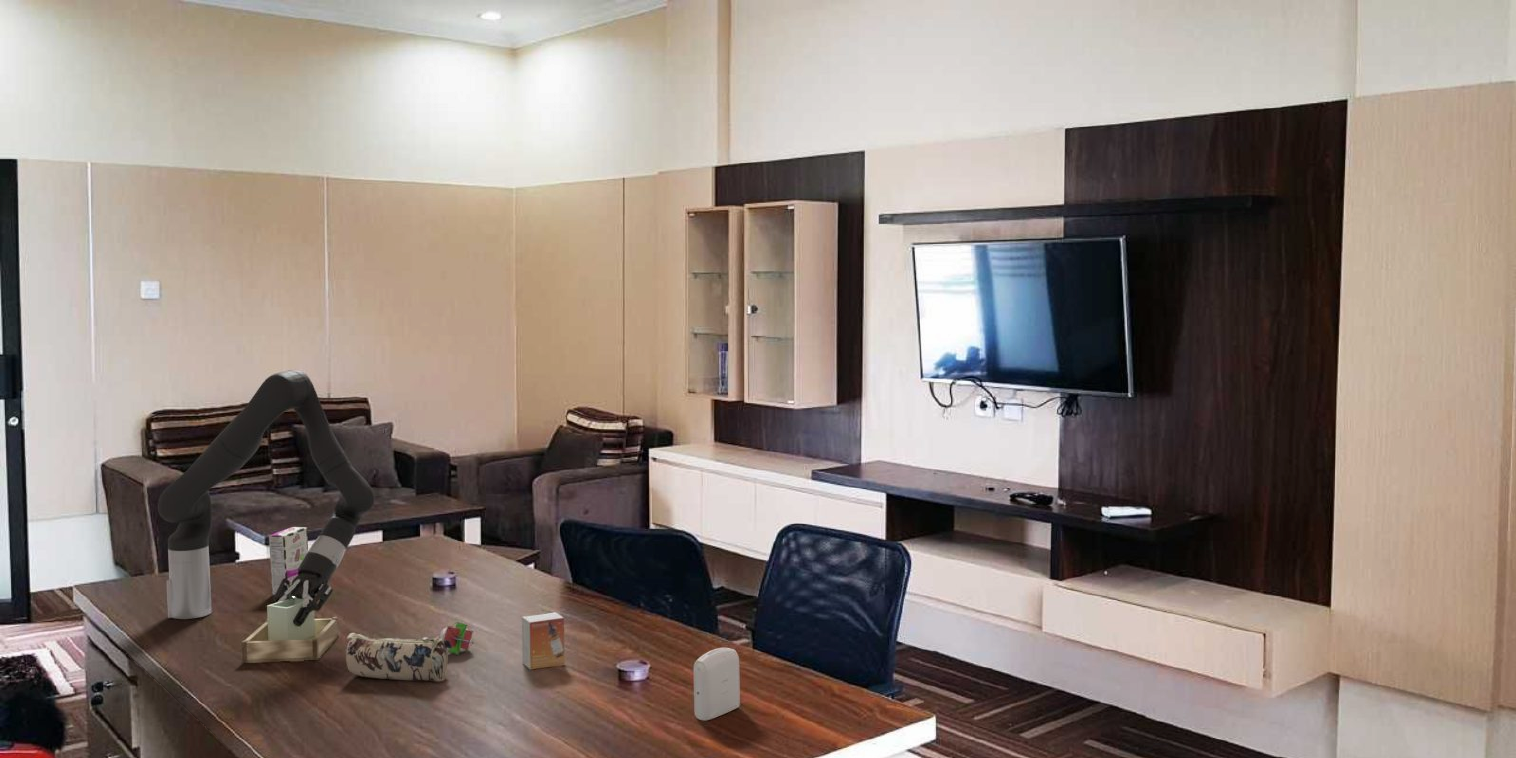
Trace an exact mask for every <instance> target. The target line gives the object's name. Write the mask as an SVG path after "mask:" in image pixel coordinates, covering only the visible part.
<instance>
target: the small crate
mask: <svg viewBox="0 0 1516 758" xmlns="http://www.w3.org/2000/svg"><path fill="white" fill-rule="evenodd" d="M293 597H294V596H293ZM294 599H295V600H293V599H289V598H288V599H287V600H284V601H280V602H277V603H276V602H275V603H271V604H268V605H266V611H267V612H266V614H267V615H266V616H267V619H268V641H279V640H311V639H313V638H315V619H316V618H315V617H316V616H315V610H314V611H312V612H311V613H309V615H308V616H307V618H306V620H305V622H304V623H303V624H302V625H301V626H296V625H295V624H294V623H293V620H294V618H295V617H296V615H297V613H298V611H299V610H300V608H303V599H299V598H296V597H294ZM309 603H310V602H309Z"/></svg>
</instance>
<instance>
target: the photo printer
mask: <svg viewBox="0 0 1516 758" xmlns="http://www.w3.org/2000/svg"><path fill="white" fill-rule="evenodd" d="M740 684H741V683H740V657H739V654H738V652H737V651H736V650H735V649H734V648H731V647H730V648H729V647H718V648H714V649H711V650H709V651H708V652H705V653H704V654H703V655H701V656H700V657H699V658H697V659H696V661H695V662H694V664H693V701H694V702H693V708H694V709H693V710H694V712H693V713H694V716H695V717H696V719H697V720H700V721H704V722H705V721H709V720H713V719H716V718H717V717H719V716H722V715H725V714H727V713H730V712H731V711H733V710H735V709H737V708H739V707H740V705H741V700H740V699H741V696H740V695H741V691H740V689H741V687H740V686H741V685H740Z"/></svg>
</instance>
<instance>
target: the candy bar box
mask: <svg viewBox="0 0 1516 758" xmlns="http://www.w3.org/2000/svg"><path fill="white" fill-rule="evenodd" d="M268 545H269V559H270V561H269V563H270V576H271V577H270V580H271V592H272V593H271V594H272V596H275V594H276V592H277V590H278V588H279V586H280V584H281V582H282V580H283V579H284V578H287V579H288V580H293V579H294V578H295V577H296V576H297V575H298V568H299V566H300V564H301V563H302V561H303V559H304V558H305V556H306V554H307V553H308V551H309V540H308V527H303V526H302V527H301V526H291V527H289V528H286V529H283V530H281V531H278V532H275V533H273V534H270V535H268ZM291 595H293V594H292V593H291Z"/></svg>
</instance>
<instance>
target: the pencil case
mask: <svg viewBox="0 0 1516 758" xmlns="http://www.w3.org/2000/svg"><path fill="white" fill-rule="evenodd" d="M348 640H349V641H348ZM346 641H348V643H347V646H346V651H345V660H346V665H347V669H348V671H349V672H350V673H351V674H354V675H355V676H358V677H359V676H360V677H362V678H372V679H381V680H398V681H421V682H422V681H424V682H436V683H437V682H438V683H440V682H443V681H445V680H446V672H447V668H448V663H449V662H448V661H449V651H448V649H449V648H452V647H451V645H450V642H449V640H446V641H444V640H443V641H442V640H441V639H440V635H438V636H436V637H435V638H429V637H426V636H425V637H422V638H421V639H415V638H414V639H413V638H391V637H388V638H387V637H386V638H376V637H375V638H374V637H369V636H366V635H362V634H361V633H360V634H359V633H356V632H350V633H349V634H348V636H347V638H346Z"/></svg>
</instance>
